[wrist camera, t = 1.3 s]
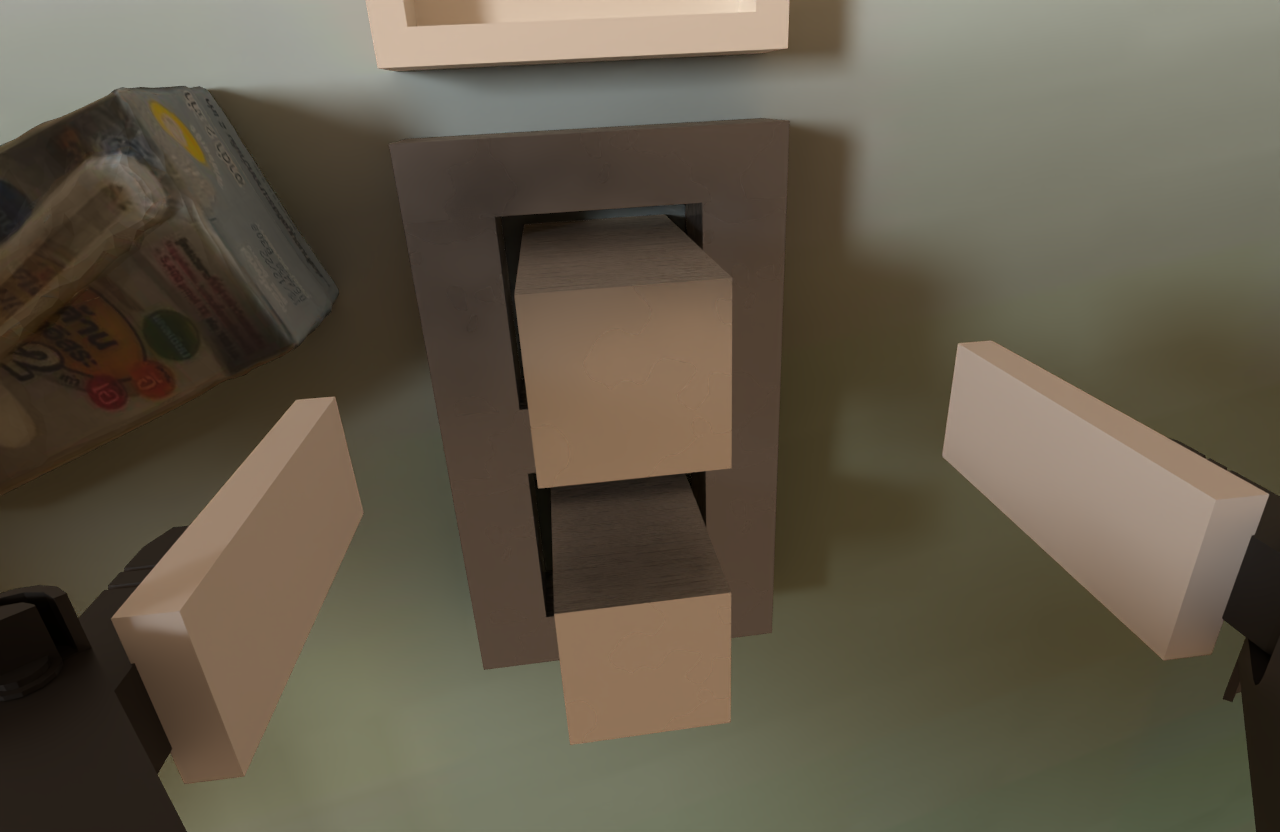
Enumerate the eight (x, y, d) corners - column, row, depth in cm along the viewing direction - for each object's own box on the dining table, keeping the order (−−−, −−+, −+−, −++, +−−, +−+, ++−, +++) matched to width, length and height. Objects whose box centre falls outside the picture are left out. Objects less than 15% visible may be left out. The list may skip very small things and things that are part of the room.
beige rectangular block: (561, 554, 31) (570, 744, 22) (549, 451, 29) (554, 614, 20) (675, 541, 31) (730, 722, 22) (672, 439, 29) (731, 592, 20)
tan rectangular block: (539, 358, 27) (538, 488, 18) (524, 224, 25) (514, 295, 16) (669, 346, 28) (731, 468, 19) (664, 214, 26) (732, 277, 17)
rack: (488, 620, 32) (483, 669, 29) (406, 138, 24) (388, 144, 21) (752, 588, 33) (771, 632, 30) (762, 118, 25) (789, 120, 22)
